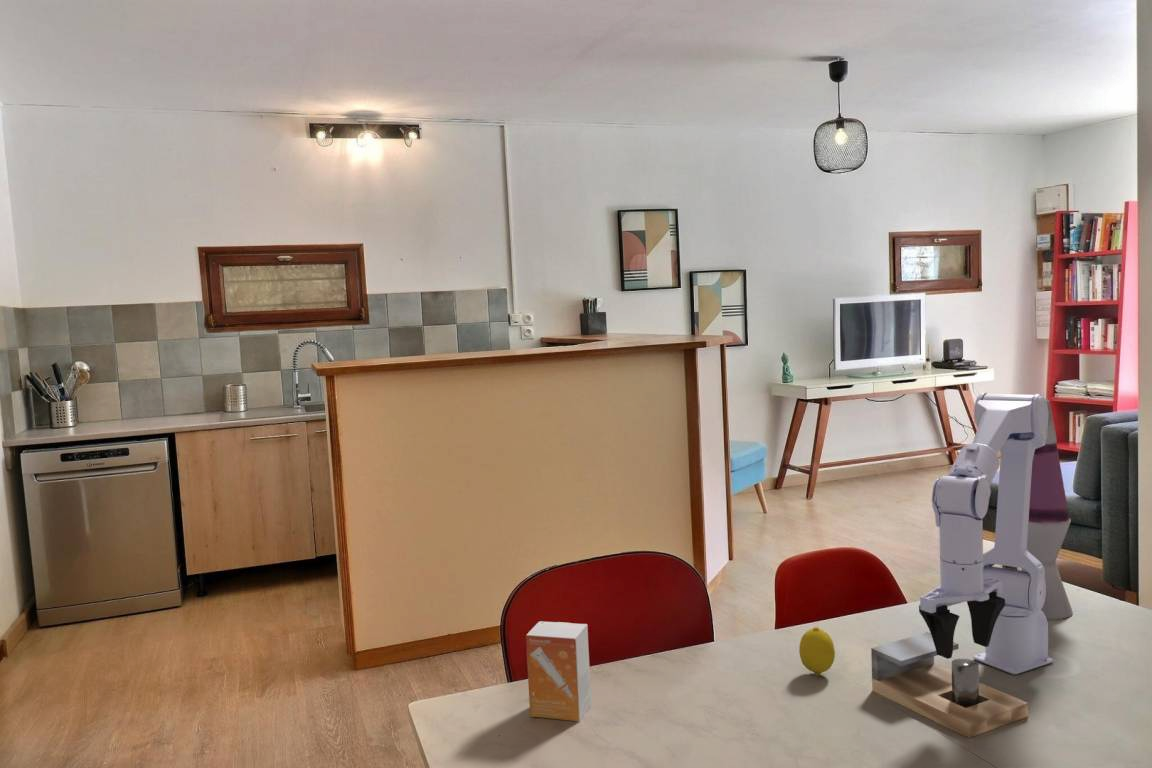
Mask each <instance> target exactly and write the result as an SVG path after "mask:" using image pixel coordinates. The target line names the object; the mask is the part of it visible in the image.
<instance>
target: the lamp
mask: <svg viewBox="0 0 1152 768" xmlns="http://www.w3.org/2000/svg"><path fill="white" fill-rule="evenodd" d="M1045 399H1046V398H1045ZM1046 401H1047V406H1048V428H1047V439H1046V442H1045V445H1044V446H1042V447H1039V448H1037V449H1035V452H1034V456H1033V461H1032V474H1031V489H1030V505H1029V520H1028V535H1027V551H1028V552H1029V553H1031V554H1032V555H1033V556H1034V557H1035V558H1036V559H1038V560H1039V561H1040V562H1041V563H1042V565H1043V566H1044V569H1045V583H1046V596H1045V601H1044V605H1043V607H1042V609H1041V610H1042V611H1043V613H1044V615H1045V616H1046V619H1047V621H1053V620H1054V621H1057V620H1064V619H1067V617H1068V618H1070V617H1071V616H1072V615H1073V608H1072V607H1071V606H1072V605H1071V603H1070V600H1069V598H1068V595H1067V592H1066V588H1065V586H1064V583H1063V581H1062V578H1061V575H1060V571H1059V569H1058V567H1057V564H1056V561H1057V559H1058V556H1059V553H1060V551H1061V548H1062V545H1063V543H1064V540H1065V538H1066V535H1067V532H1068V530H1069V528H1070V524H1071V522H1072V521H1071V520H1072V519H1071V518H1070V513H1069V507H1068V501H1067V498H1066V497H1067V496H1066V492H1065V491H1066V490H1065V485H1064V480H1063V474H1062V468H1061V464H1060V457H1059V456H1060V455H1059V450H1058V440H1057V439H1058V438H1057V435H1056V430H1055V423H1054V418H1053V414H1052V408H1051V403H1050V400H1049V399H1046ZM1020 569H1021V570H1020V571H1026V572H1028V571H1027V570H1025V569H1023V568H1020Z"/></svg>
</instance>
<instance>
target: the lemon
mask: <svg viewBox="0 0 1152 768" xmlns="http://www.w3.org/2000/svg"><path fill="white" fill-rule="evenodd" d="M798 649H799V652H798V653H799V657H800V661H801V663H802V665H803V666H804V667H805V669H807V670H808V671H809V672H811V673H814V674H815V676H820V675H822V673H825V672H827V671H828V670H829V669H830V668H831V667H832V665H833V664H834V661H835V656H836V655H835V654H836V653H835V652H836V651H835V646H834V642H833V638H832V637H831V636H830V634H829V633H828V632H827V631H825V630H823V629H821V628H819V627H817V626H814V627H813V628H811V629H808V630H807V631H805V633H804V634H803V635H802V637H801V639H800V641H799V648H798Z"/></svg>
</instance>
